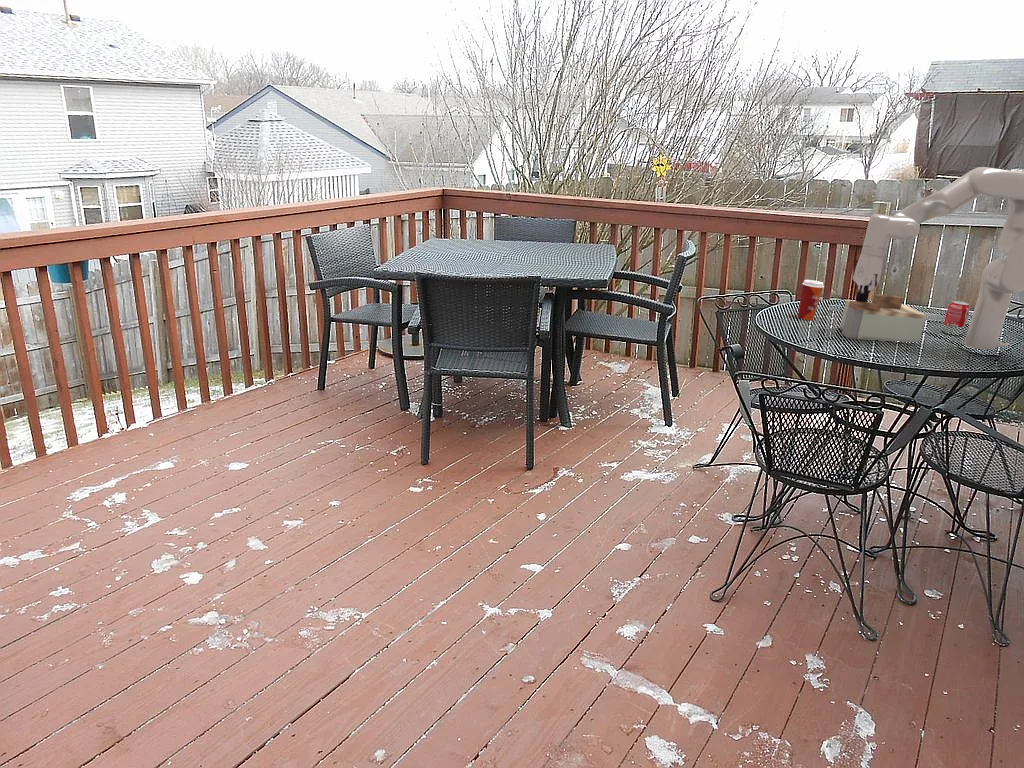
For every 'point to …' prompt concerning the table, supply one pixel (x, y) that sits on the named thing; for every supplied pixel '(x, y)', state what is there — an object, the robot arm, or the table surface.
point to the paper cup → (810, 299)
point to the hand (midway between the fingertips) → (860, 304)
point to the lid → (892, 307)
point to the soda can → (957, 314)
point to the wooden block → (864, 306)
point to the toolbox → (880, 326)
